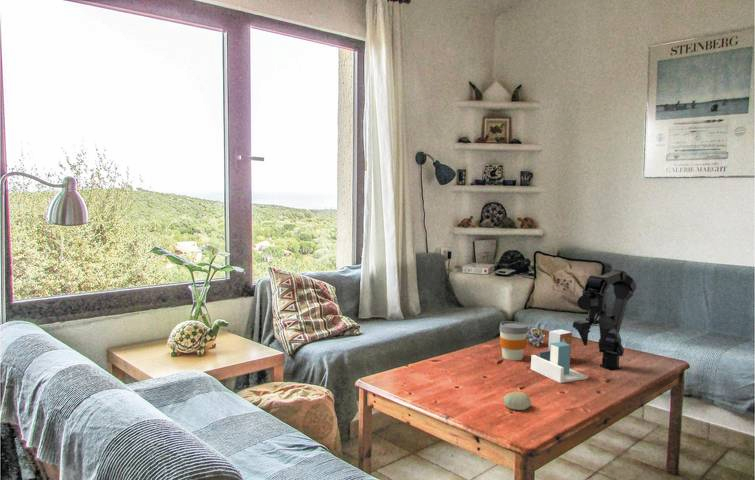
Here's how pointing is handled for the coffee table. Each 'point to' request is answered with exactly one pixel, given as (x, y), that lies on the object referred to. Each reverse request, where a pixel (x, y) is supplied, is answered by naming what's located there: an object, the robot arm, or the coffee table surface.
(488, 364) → the coffee table surface
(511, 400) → the sea urchin shell
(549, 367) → the shelf
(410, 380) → the coffee table surface
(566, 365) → the teal rectangular block
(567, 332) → the small box
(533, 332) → the passion flower
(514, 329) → the reusable coffee cup
